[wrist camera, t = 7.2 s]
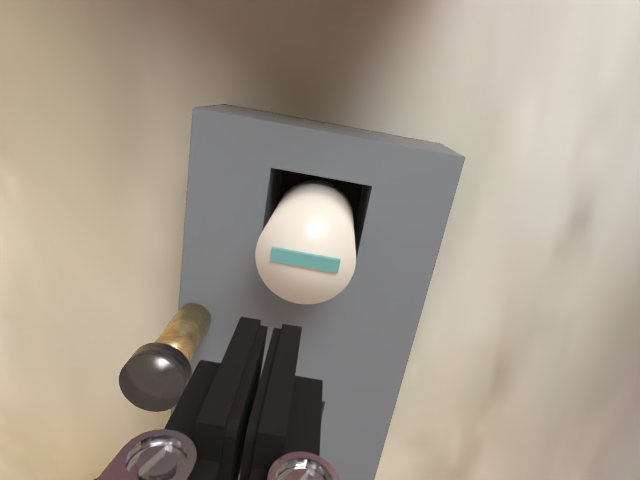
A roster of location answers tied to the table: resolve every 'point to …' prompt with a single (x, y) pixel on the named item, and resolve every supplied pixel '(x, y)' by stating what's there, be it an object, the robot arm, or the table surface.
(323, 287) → the knob
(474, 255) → the table surface
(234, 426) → the robot arm
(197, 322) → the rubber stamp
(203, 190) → the panel
